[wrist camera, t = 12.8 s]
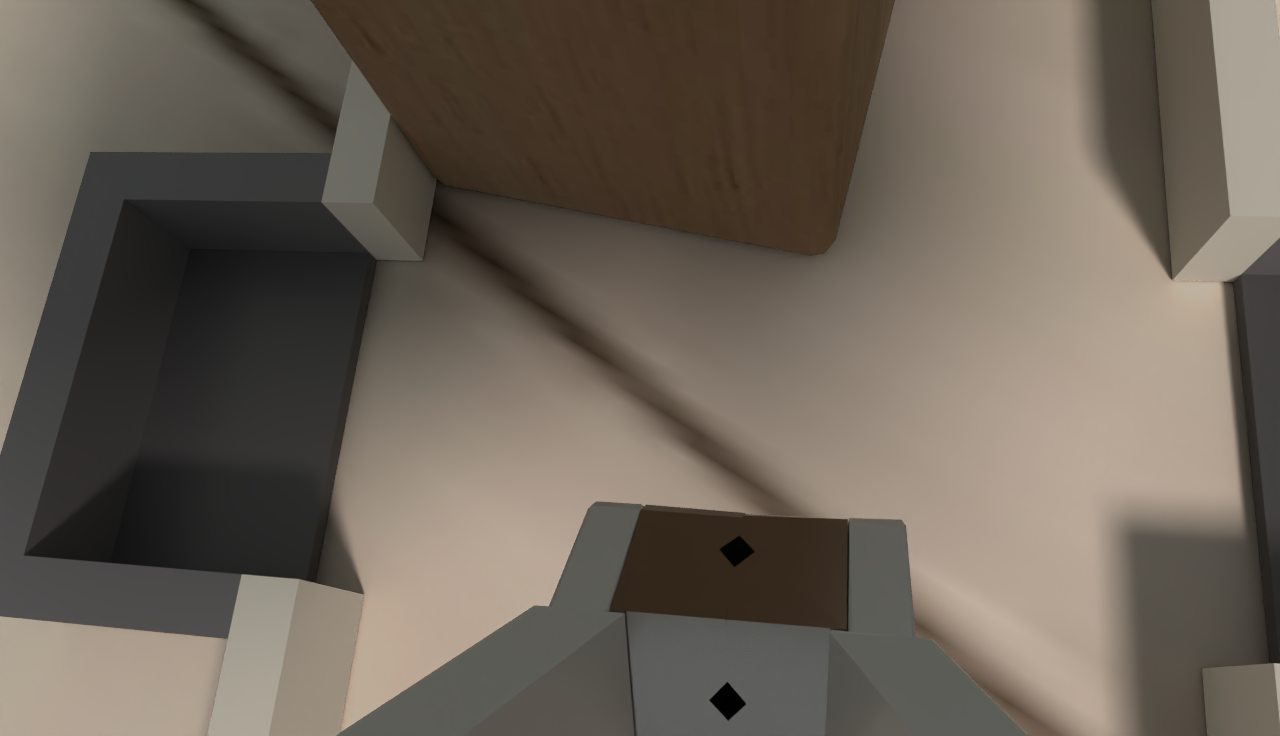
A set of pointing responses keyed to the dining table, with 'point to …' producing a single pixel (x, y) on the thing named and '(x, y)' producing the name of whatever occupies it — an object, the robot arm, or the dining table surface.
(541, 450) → the dining table surface
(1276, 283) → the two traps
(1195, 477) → the dining table surface
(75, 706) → the dining table surface
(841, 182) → the wooden block
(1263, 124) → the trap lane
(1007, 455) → the dining table surface
